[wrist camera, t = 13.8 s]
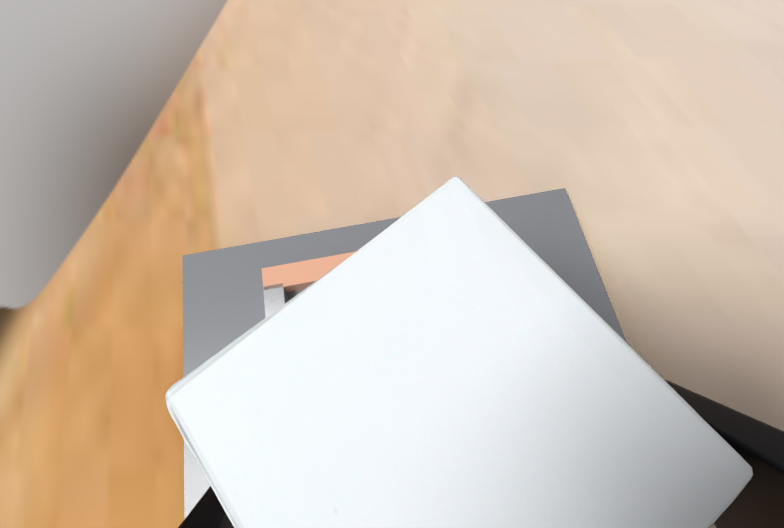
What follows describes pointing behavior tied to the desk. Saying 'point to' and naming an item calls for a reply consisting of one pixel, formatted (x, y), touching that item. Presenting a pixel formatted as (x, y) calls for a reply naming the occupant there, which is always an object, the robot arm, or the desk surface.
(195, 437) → the supplement box
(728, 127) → the desk surface
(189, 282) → the rail stand
